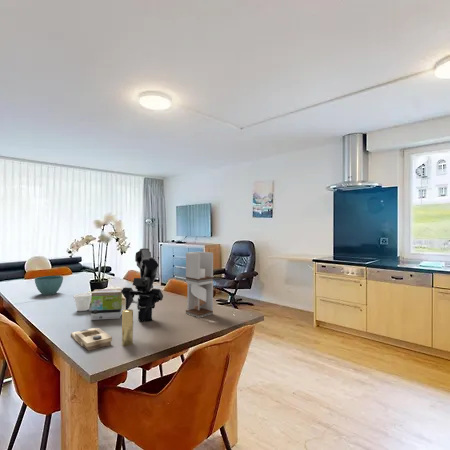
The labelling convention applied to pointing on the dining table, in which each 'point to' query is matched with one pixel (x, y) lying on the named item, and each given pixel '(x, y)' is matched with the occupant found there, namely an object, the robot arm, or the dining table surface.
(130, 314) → the brass pin
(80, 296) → the cup
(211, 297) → the grey stand
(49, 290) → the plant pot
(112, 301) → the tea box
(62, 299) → the dining table surface
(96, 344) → the wooden slotted base
